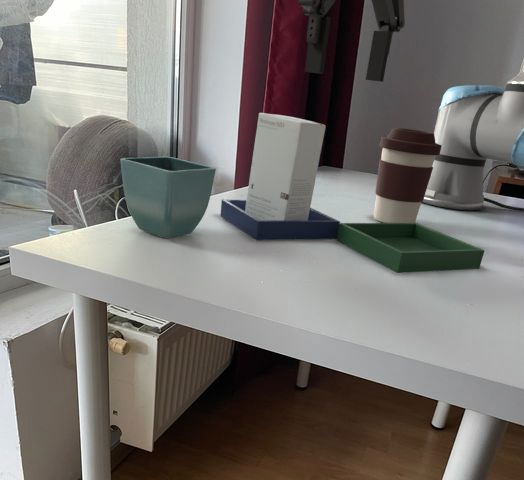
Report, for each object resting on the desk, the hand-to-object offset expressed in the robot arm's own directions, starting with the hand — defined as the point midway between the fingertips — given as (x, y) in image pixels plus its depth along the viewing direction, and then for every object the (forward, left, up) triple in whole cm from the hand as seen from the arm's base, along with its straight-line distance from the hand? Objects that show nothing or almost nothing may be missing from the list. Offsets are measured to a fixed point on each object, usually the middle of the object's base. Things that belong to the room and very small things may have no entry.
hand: (345, 77), depth 79 cm
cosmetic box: (+9, +1, -21) cm, 23 cm away
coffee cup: (-16, -2, -22) cm, 27 cm away
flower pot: (+27, +4, -22) cm, 34 cm away
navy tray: (+9, +1, -21) cm, 23 cm away
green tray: (-4, +16, -21) cm, 27 cm away
